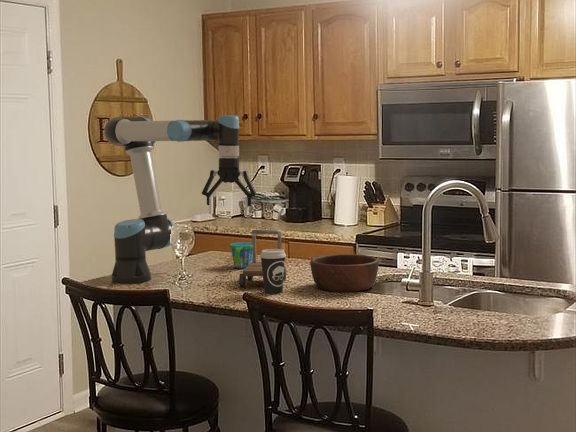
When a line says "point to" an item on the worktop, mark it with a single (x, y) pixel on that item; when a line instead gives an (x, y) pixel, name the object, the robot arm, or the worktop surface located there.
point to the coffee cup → (273, 270)
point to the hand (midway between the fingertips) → (229, 214)
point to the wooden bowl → (344, 272)
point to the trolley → (255, 267)
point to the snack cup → (242, 254)
